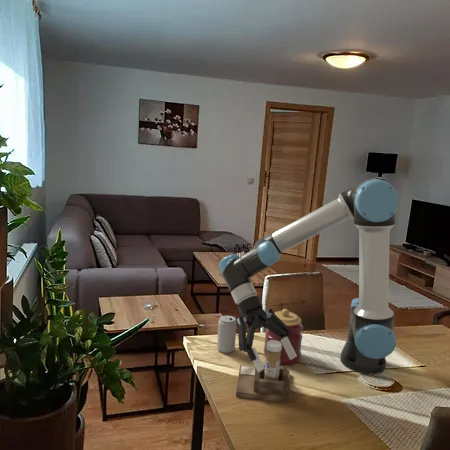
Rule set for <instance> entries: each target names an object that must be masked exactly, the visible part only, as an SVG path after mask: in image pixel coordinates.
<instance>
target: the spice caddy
mask: <svg viewBox="0 0 450 450" xmlns="http://www.w3.org/2000/svg"><path fill="white" fill-rule="evenodd" d="M263 365H264V368H265V364H263ZM290 374H291V373H290V370H289V367H287V366H280V370H279V380H278V381H277V380H268V379H264V378H265V369H263V370H262V371H260V372H257V369H256V367H255V366H251V365H241V364H240V365H239V370H238V376H237V377H238V378H237V384H236V392H235V397H237V398H245V399H255V400H265V401H272V402H283V403H292V399H293V397H292V387H291V386H292V384H291V375H290Z"/></svg>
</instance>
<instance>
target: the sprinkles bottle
mask: <svg viewBox="0 0 450 450" xmlns="http://www.w3.org/2000/svg"><path fill="white" fill-rule="evenodd" d="M281 349H282V344H281V342H279V341H277V340H269V341H267V344H266V350H267V352H266V357H265V364H264V365H265V378H264V379H268V380H277V381H278V380H279V370H280V367H281V364H280V354H281Z"/></svg>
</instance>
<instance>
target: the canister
mask: <svg viewBox="0 0 450 450" xmlns="http://www.w3.org/2000/svg"><path fill="white" fill-rule="evenodd" d="M274 313H275V315H276V316H277V317H278V318H279V319H280V320H281V321H282V322H283V323H284V324H285V325H286V326H287V327H288V328H289V329H290V330H291V333H290V335H289V339H290V340H291V343H292V345H293V346H292V347H293V349H294V351H295V353H296V355H297V356H296V357H295V358H293V359H292V360H290V359H289V356H288V354H287V352H286V350H285V348H284V346H283V344H282V342H281V340H282V338H280V337H279V336H278V335H276V334H275V333H273V332H272V331H270V330H269V329H267V328H266V330H265V331H264V333H265V338H264V346H263V355H264V357H265V358H266V352H267V350H266V344H267V341H269V340H277V341H279V342H281V344H282V349H281V354H280V366H281V365H283V366H284V365H286V366H288V365H294V364H295V365H296V364H297V363H298V362H299V361H300V358H301V357H302V355H301V354H302V339H303V334H302V331H303V330H304V326H303V324H302V319H301V318H300V317H299V316H298V315H297V314H296V313H294V312H291V311H289V310H288V309H287V308H283V309H282V310H278V311H274ZM266 323H267V322H266Z"/></svg>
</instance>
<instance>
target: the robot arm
mask: <svg viewBox="0 0 450 450" xmlns="http://www.w3.org/2000/svg"><path fill="white" fill-rule="evenodd" d="M398 208H399V194H398V191H397V190H396V189H395V187H394V186H393V185H392V184H391V183H390V182H388V181H387V180H384V179H380V178H377V177H365V178H363V179H361V180H359V181H358V182H356V183H355V184H354V185H352V186H351V187H349V188H347V189H346V190H344V191H342V192H340V193H339V194H338V196H337V198H336V199H334V200H332V201H330V202H328V203H326V204H325V205H323V206H320V207H318V208H317V209H315V210H314V211H311V212H310V213H308V214H305V215H304V216H302V217H300V218H298V219H297V220H295V221H293V222H291V223H289V224H287V225H286V226H283V227H282V228H280V229H277V230H276V231H274V232H272V233H270V234H269V235H267V236H263V237H261V238H259V239H257V240H256V242H255V243H254V246H253V247H252V248H251V250H249V251H248V252H246V253H244V254H243V255H241V256H239V255H238V254H236V253H235V254H234V253H233V254H229V255H228V256H224V257H223V258H222V259H221V260H220V261H219V263H218V269H219V270H220V273H221V275H222V278H223V280H224V281H225V284H226V286H227V288H228V290H229V292H230V294H231V296H232V299H233V301H234V303H235V304H236V305H237V309H238V312H239V314H240V317H238V318H237V319H235V321H236V327H237V333H238V334H237V335H238V337H237V339H238V340H237V341H238V350H239V351H241V352H242V351H243V353H247V356H248V358H249V360H250V361H251V362H253V364H254V367H256V369H257V372H260V371H262V370H263V369H265V368H264V365H265V364H264V363H263V361H262V359H261V357H260V355H259V353H258V351H257V348H256V347H253V343H254V339H255V331H256V330H257V329H261V328H264V329H266V330H267V329H269V330H270V331H272V332H273V333H275V334H276V335H278V336H279V337H280V338H282V340H281V342H282V344H283V346H284V348H285V350H286V352H287V354H288V356H289V359H290V360H292V359H293V358H295V357H296V356H297V355H296V353H295V351H294V349H293V347H292V346H293V345H292V343H291V340H290V339H289V335H290V333H291V330H290V329H289V328H288V327H287V326H286V325H285V324H284V323H283V322H282V321H281V320H280V319H279V318H278V317H277V316H276V315H275V311H274V310H273V309H272V308H269V309H267V310H264V307H263V304H264V303H263V302H262V300H261V298H260V297H259V295H258V293H257V290H256V288H255V287H254V284H253V282H252V280H251V278H253V277H255V276H256V275H257V274H259V273H260V272H263V271H264V270H265V269H268V268H270V267H271V266H274V264H275V263H277V262H279V261H280V258H281V254H282V253H284V252H287V251H289V250H290V249H292V248H294V247H296V246H298V245H299V244H301V243H304V242H305V241H308V240H309V239H311V238H313V237H315V236H317V235H320V234H321V233H323V232H325V231H327V230H329V229H330V228H333V227H336V225H339V224H341V223H343V222H345V221H346V220H349V219H351V220H353V225H354V226H355V228H357V229H358V231H359V232H358V236H359V237H358V240H359V241H358V243H359V244H358V247H359V248H358V274H359V275H358V297H355V298H353V299H352V300H351V304H350V313H349V314H350V315H349V324H348V332H347V333H348V334H347V340H346V341H345V343H344V345H343V348H342V349H341V352H340V357H339V358H340V362H341V364H342V365H343V366H344V367H346V368H348V369H349V370H351V371H354V372H358V373H362V374H366V373H373V374H372V375H375V374H376V375H377V374H380V373H383V372H384V371H386V366H387V359H386V357H388V356H390V355H391V354H392V353H393V352H394V351H395V349H396V345H397V338H396V334H395V332H394V331H395V330H394V322H395V321H394V319H395V318H394V316H395V315H394V314H395V313H394V311H393V310H392V309H391V308H390V307H389V299H390V298H389V293H390V292H389V289H390V287H389V286H390V285H389V284H390V281H389V280H390V233H391V232H390V231H391V229H392V228H394V227H395V226H396V212H397V210H398ZM266 322H267V323H266ZM246 324H247V325H246ZM246 326H247V327H246ZM246 329H247V330H246Z"/></svg>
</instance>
